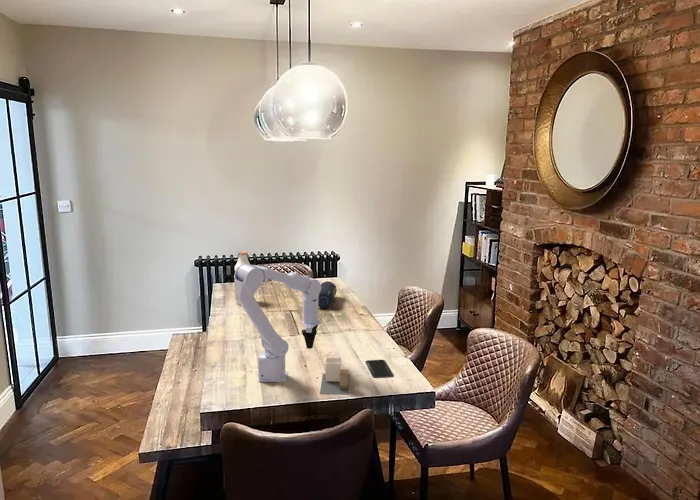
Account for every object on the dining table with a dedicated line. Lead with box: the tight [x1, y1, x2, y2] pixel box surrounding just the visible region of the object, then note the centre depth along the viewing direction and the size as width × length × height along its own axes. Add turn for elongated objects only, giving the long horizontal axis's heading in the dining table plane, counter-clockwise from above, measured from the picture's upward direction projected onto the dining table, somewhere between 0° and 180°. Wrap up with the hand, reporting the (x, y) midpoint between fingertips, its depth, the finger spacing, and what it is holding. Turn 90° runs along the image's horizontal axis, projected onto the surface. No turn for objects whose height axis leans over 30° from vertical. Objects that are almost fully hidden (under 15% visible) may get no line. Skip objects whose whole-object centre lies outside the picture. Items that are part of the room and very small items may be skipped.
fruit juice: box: [234, 250, 252, 306], centre depth 268 cm, size 9×9×28 cm
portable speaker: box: [318, 281, 338, 309], centre depth 272 cm, size 25×10×10 cm, turn 176°
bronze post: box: [340, 368, 349, 390], centre depth 173 cm, size 3×3×6 cm
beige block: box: [325, 357, 342, 382], centre depth 180 cm, size 5×5×7 cm
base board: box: [319, 373, 351, 396], centre depth 177 cm, size 10×16×1 cm, turn 179°
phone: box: [365, 359, 394, 379], centre depth 190 cm, size 8×1×15 cm
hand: (310, 344), depth 189 cm, fingers open, 7 cm apart
